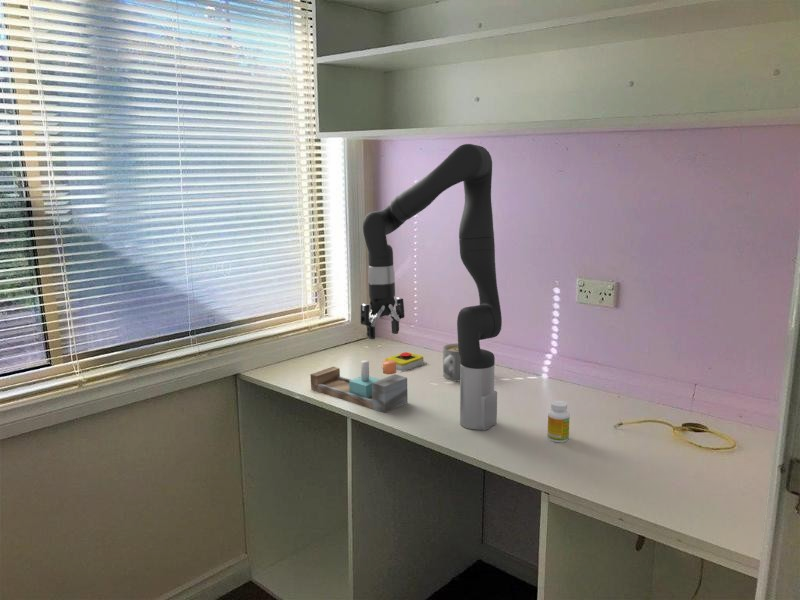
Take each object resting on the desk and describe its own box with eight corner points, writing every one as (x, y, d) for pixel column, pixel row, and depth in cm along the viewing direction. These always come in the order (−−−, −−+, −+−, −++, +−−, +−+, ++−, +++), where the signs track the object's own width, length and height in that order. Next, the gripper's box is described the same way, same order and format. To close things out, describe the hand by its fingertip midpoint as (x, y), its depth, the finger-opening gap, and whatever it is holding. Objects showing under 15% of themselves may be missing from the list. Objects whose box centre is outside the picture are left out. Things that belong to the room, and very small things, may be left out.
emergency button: (427, 352, 235) (398, 362, 225) (427, 364, 236) (398, 374, 226) (408, 347, 242) (379, 356, 231) (408, 359, 243) (379, 368, 232)
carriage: (381, 392, 202) (381, 360, 200) (366, 398, 197) (365, 366, 195) (365, 387, 207) (364, 356, 204) (349, 393, 201) (348, 362, 199)
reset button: (399, 371, 194) (399, 362, 193) (390, 375, 191) (390, 365, 190) (389, 369, 196) (388, 359, 196) (380, 372, 193) (379, 362, 193)
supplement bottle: (565, 444, 168) (566, 408, 166) (544, 440, 170) (545, 405, 168) (571, 436, 172) (572, 401, 170) (550, 432, 175) (552, 398, 173)
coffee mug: (456, 369, 228) (456, 341, 226) (478, 375, 221) (479, 347, 219) (430, 378, 219) (429, 349, 217) (452, 385, 212) (452, 355, 210)
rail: (407, 402, 198) (407, 377, 196) (385, 412, 190) (384, 386, 189) (333, 380, 218) (332, 357, 217) (311, 389, 211) (309, 365, 209)
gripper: (392, 276, 196) (394, 329, 199) (353, 282, 187) (356, 338, 190) (409, 279, 190) (410, 334, 193) (369, 285, 181) (371, 342, 184)
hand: (383, 336), depth 191 cm, fingers open, 8 cm apart
